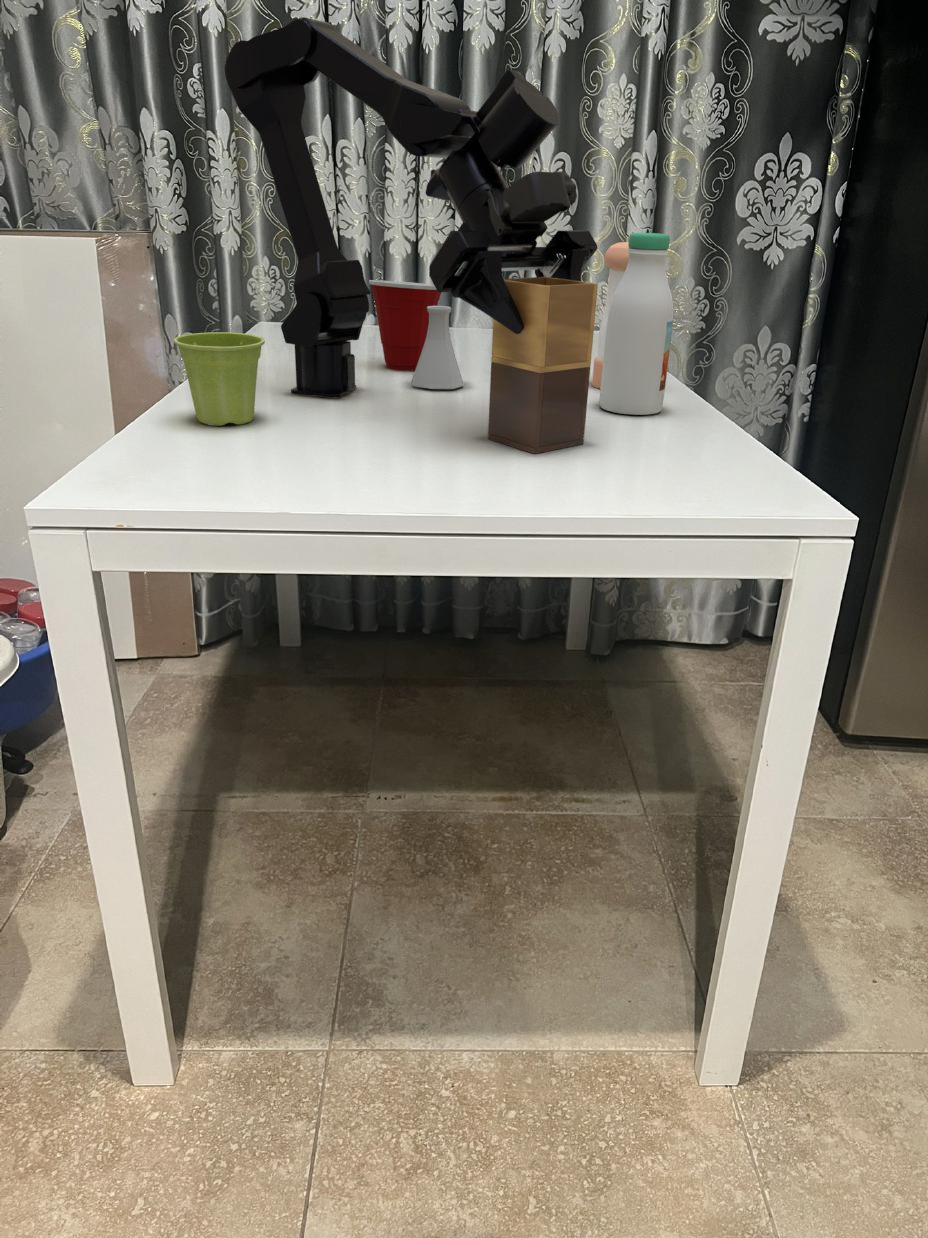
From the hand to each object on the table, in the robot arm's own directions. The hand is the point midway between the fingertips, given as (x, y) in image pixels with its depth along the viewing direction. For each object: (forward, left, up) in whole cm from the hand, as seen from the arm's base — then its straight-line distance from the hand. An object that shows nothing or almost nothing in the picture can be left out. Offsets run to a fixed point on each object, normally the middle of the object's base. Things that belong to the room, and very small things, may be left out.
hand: (552, 328), depth 90 cm
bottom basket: (-1, +1, -12) cm, 12 cm away
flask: (-19, +25, -12) cm, 33 cm away
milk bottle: (+7, +21, -12) cm, 25 cm away
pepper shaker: (+4, +35, -12) cm, 37 cm away
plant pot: (-35, -3, -12) cm, 37 cm away
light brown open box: (-1, +1, -4) cm, 4 cm away
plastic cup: (-27, +36, -12) cm, 46 cm away
